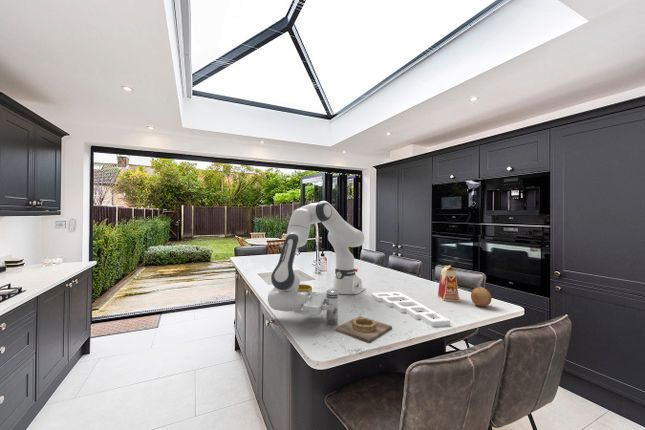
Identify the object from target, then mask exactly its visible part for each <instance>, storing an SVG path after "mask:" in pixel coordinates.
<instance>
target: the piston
mask: <svg viewBox="0 0 645 430" xmlns="http://www.w3.org/2000/svg"><path fill="white" fill-rule="evenodd" d="M325 294H327V295H326V297H327V304H326V305H329V304H331V305H333V310H325V311H326V312H325V313H326V315H325V316H326V320H325V323H326V324H327V325H328V326H336V325H338V321H339V318H338V317H339V293H338V290H333V289H332V288H331V289H330V288H329V289H327V290H326V293H325Z"/></svg>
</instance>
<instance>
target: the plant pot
mask: <svg viewBox="0 0 645 430" xmlns="http://www.w3.org/2000/svg"><path fill="white" fill-rule="evenodd" d="M305 291H311V292H313V286H312V285H311V284H302V283H300V285H299V289H298V292H305Z"/></svg>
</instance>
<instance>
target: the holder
mask: <svg viewBox="0 0 645 430" xmlns="http://www.w3.org/2000/svg"><path fill="white" fill-rule="evenodd" d="M370 296H371V298H372V299H374V300H375V301H376V302H378V303H379V302H380V303H383V304H384V305H385V306H386V307H389V308H393V309H395V310H397V311H398V312H399V313H401V314H402V313H403V314H404V313H406V314H407V315H408V316H410V318H412V319H415V320H421V321H422V322H424V323H425V324H427V325H428V326H430V327H431V326H432V327H431V328H434V327H433V326H437V327H445V326H446V325H449V326H450V325H451V320H450V319H448V318H447V317H445V316H444V315H441V314H440V313H438V312H436V311H434V310H432V309H431V308H429V307H427V306H426V305H424V304H422V303H420V302H418V301H416V300H415V299H413V298H412V297H410V296H408V295H406V294H404V293H402V292H400V291H390V292H387V291H386V292H371V295H370ZM400 300H401V301H400ZM403 300H404V301H403ZM419 311H422V312H419ZM433 318H434V319H433ZM446 327H447V326H446Z"/></svg>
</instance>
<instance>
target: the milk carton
mask: <svg viewBox="0 0 645 430" xmlns="http://www.w3.org/2000/svg"><path fill="white" fill-rule="evenodd" d="M456 271H457V270H456V269H454V268H453V267H452V264H450V265H444V267H443V268H442V269H441V271H440V277H439V281H438V290H437V297H438V298H439V297H440V298H439V299H440V300H442V301H443V300H445V301H444V302H458V301H461V300H460V296H459V289H458V288H459V287H458V281H457V272H456Z"/></svg>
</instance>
